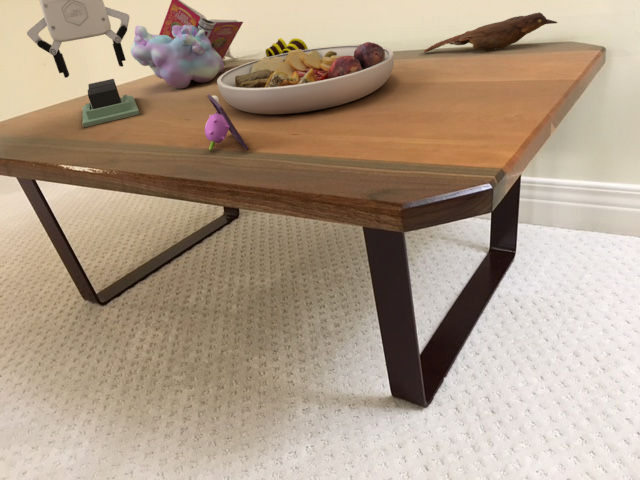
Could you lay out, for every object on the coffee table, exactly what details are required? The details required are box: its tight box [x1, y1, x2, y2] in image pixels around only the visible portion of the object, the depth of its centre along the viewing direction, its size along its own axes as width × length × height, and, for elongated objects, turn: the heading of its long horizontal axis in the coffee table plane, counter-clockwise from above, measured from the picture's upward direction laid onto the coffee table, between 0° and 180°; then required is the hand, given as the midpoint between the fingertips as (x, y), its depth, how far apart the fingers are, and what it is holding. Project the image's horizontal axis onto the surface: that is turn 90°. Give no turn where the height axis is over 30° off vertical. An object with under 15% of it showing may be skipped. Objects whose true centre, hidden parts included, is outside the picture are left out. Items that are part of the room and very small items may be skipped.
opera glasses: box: [265, 37, 309, 57], centre depth 123 cm, size 10×5×5 cm, turn 43°
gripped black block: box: [87, 83, 121, 109], centre depth 102 cm, size 5×6×4 cm
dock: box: [82, 78, 141, 128], centre depth 104 cm, size 10×16×5 cm, turn 22°
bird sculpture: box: [423, 12, 558, 54], centre depth 103 cm, size 7×25×5 cm, turn 68°
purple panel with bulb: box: [204, 93, 249, 152], centre depth 73 cm, size 7×5×9 cm
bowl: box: [216, 41, 395, 115], centre depth 92 cm, size 30×30×8 cm
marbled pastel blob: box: [130, 0, 244, 90], centre depth 118 cm, size 20×22×18 cm
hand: (94, 71), depth 99 cm, fingers open, 9 cm apart
